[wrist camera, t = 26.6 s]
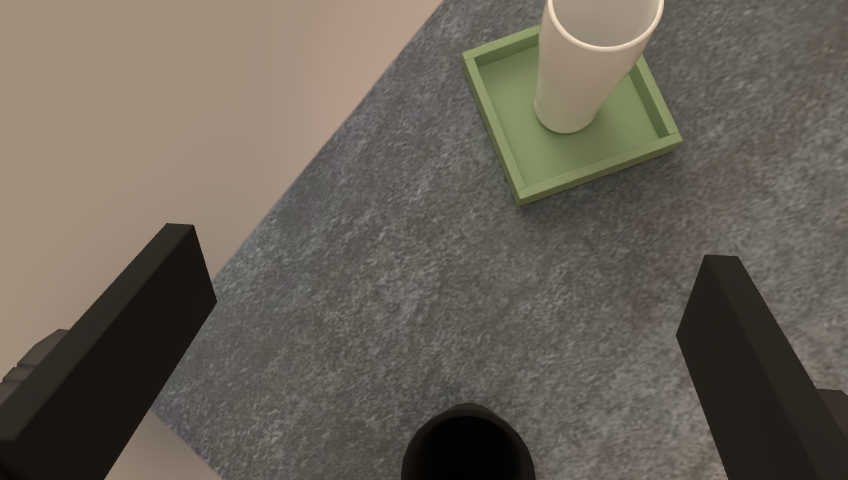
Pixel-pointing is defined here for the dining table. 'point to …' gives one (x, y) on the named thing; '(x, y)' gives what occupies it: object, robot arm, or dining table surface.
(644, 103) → the green shallow square tray
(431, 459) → the cup
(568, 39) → the drinking glass
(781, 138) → the dining table surface
